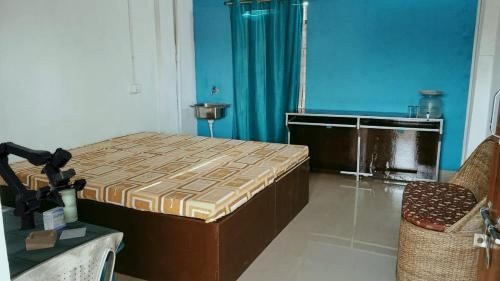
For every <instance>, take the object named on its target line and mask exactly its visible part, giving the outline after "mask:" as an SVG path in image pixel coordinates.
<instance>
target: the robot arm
mask: <svg viewBox="0 0 500 281" xmlns="http://www.w3.org/2000/svg"><path fill="white" fill-rule="evenodd" d="M10 155H13V156H16V157H18V158H22V159H25V160H27V161H28V163H29V164H31V165H32V166H35V167H41V166H43V167H42V168H41V170H40V175H45V176H46V178H47V180H48V185H44V186H39V187H38V189H37V191H36V190H35V189H32V190H29V189H28V188H26V186H25V184H24V183H23V182H22V180H21V179H20V178H19V176H18V175H17V174H16V172H15V171H14V170H13V168H12V167H11V166H10V164H9V156H10ZM72 159H73V154H72V153H71V152H70V151H68V150H67V149H64V148H63V147H57V148H56V149H55V151H54V152H53V153H52V152H50V151H49V150H46V149H45V150H44V149H32V148H30V147H26V146H23V145H19V144H17V143H14V142H13V141H6V142H5V141H4V142H1V143H0V177H1V178H2V179H3V181H4V182H5V184H6V185H7V187H8V188H9V189H10V190H11V193H13V195H14V196H15V204H16V207H15V208H14V209H13V211H12V213H13V216H14V217H19V225H20V226H19V227H18V229H17V230H18V231H22V230H29V229H30V230H31V229H36V228H37V226H38V225H39V222H36V214H35V213H36V212H39V211H40V207H41V204H42V203H41V202H42V200H47V201H51V202H53V203H55V204H57V205H58V206H59V207H65V204H64V202H63V200H62V196H60V195H61V194H60V193H61V191H62V190H65V189H75V197H76V205H79V195H78V194H79V193H78V192H81V191H83V190H84V189H85V188H86V185H87V184H88V182H87V180H86V178H83V177H81V178H77V179H74V181H73V183H70V182H71V179H72V178H73V177H75V176H76V175H77V173H76V169H74V167H71V168H69V169H66V170H62V169H63V168H65V167H66V165H68V163H69V162H70V161H71V160H72Z"/></svg>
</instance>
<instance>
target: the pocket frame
mask: <svg viewBox="0 0 500 281" xmlns="http://www.w3.org/2000/svg"><path fill="white" fill-rule="evenodd" d="M57 240H58V231H57V229H50V230H45V229H44V230H37V231H31V232H30V233H29V234H28V235H27V237H26V239H25V240H24V241H25V248H26V251H34V250H40V249H47V248H54V246H55V244H56V242H57Z"/></svg>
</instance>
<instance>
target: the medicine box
mask: <svg viewBox="0 0 500 281" xmlns="http://www.w3.org/2000/svg"><path fill="white" fill-rule="evenodd" d="M42 216H43V225H44V230H50V229H57V232H58V231H59V230H61V229H64V228H65V227H67V222H64V216H63V207H62V206H56V207H53V208H51V209H49V210H46V211H44V212H42Z"/></svg>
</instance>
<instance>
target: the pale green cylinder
mask: <svg viewBox="0 0 500 281" xmlns="http://www.w3.org/2000/svg"><path fill="white" fill-rule="evenodd" d="M60 195H61V196H60V197H61V198H62V200H63V202H64V204H65V207H63V216H64V222H66V223H73V222H76V221H78V219H79V218H78V210H77V204H76V197H75V189H65V190H62V191H60Z"/></svg>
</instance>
